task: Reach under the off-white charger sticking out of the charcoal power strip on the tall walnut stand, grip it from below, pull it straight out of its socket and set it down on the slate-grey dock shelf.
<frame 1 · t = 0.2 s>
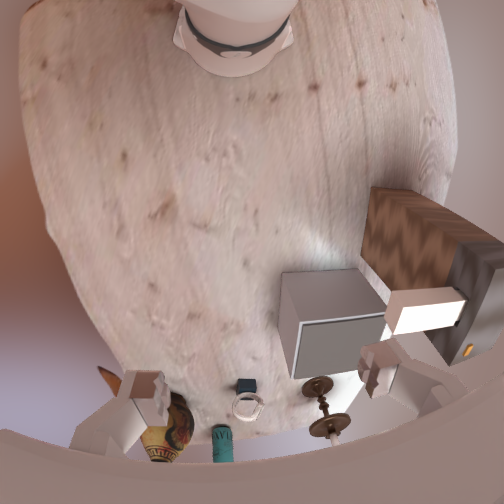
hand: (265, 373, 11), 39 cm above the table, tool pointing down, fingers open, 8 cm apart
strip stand: (387, 222, 52), on the table
dock shelf: (317, 299, 58), on the table
watch: (245, 384, 69), on the table
beverage bottle: (221, 426, 79), on the table
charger: (450, 300, 28), point 26 cm above the table, touching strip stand
ceramic jug: (169, 401, 70), on the table
candlestick: (317, 385, 72), on the table
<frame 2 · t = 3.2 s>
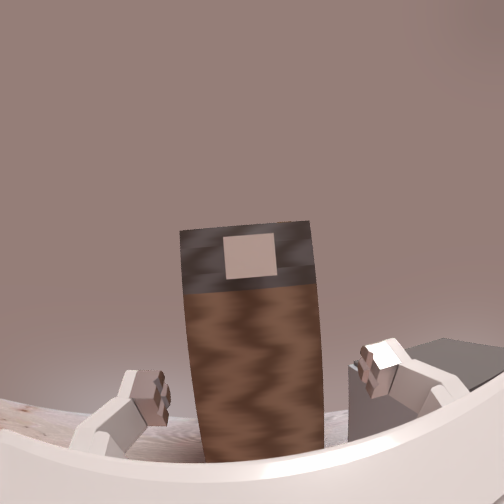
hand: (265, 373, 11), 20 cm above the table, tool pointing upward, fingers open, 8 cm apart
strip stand: (264, 459, 31), on the table
dock shelf: (423, 478, 19), on the table
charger: (248, 270, 30), point 26 cm above the table, touching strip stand
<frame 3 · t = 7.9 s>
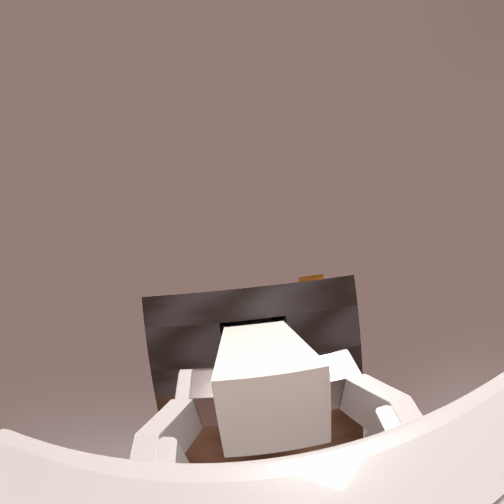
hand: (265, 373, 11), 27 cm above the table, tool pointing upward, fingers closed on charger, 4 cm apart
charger: (257, 362, 17), point 26 cm above the table, touching gripper, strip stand
when the fingers open (19 cm above the table, at t = 14.8 s): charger drops 2 cm, resting on dock shelf.
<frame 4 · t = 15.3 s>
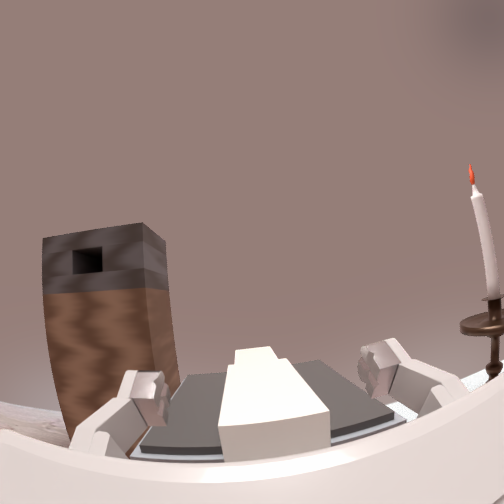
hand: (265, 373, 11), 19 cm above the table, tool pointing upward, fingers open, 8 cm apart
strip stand: (139, 463, 28), on the table
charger: (261, 397, 17), point 15 cm above the table, touching dock shelf
candlestick: (488, 415, 23), on the table
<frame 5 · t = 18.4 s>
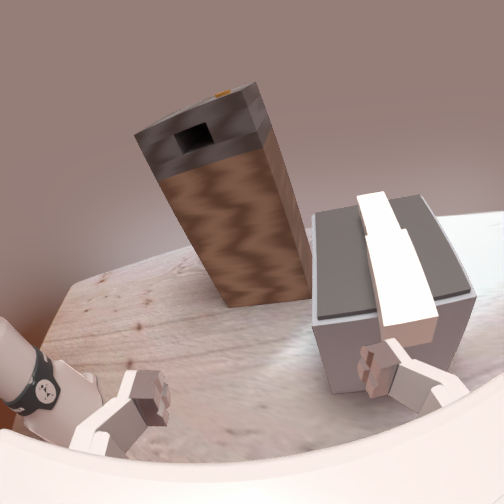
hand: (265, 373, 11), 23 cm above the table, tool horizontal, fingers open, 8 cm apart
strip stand: (271, 281, 49), on the table
dock shelf: (383, 332, 33), on the table
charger: (386, 253, 23), point 15 cm above the table, touching dock shelf
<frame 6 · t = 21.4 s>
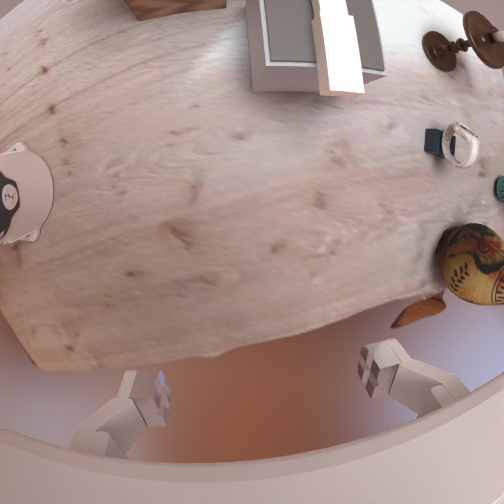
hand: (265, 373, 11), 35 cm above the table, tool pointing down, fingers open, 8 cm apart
dock shelf: (293, 46, 35), on the table
watch: (434, 142, 42), on the table
beverage bottle: (497, 187, 46), on the table
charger: (327, 19, 21), point 15 cm above the table, touching dock shelf
ceramic jug: (452, 247, 51), on the table
candlestick: (438, 51, 35), on the table
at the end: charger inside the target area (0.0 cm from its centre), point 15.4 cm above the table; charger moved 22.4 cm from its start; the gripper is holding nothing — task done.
